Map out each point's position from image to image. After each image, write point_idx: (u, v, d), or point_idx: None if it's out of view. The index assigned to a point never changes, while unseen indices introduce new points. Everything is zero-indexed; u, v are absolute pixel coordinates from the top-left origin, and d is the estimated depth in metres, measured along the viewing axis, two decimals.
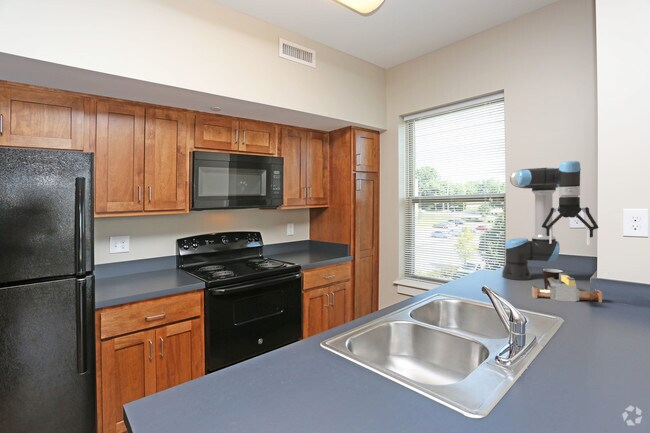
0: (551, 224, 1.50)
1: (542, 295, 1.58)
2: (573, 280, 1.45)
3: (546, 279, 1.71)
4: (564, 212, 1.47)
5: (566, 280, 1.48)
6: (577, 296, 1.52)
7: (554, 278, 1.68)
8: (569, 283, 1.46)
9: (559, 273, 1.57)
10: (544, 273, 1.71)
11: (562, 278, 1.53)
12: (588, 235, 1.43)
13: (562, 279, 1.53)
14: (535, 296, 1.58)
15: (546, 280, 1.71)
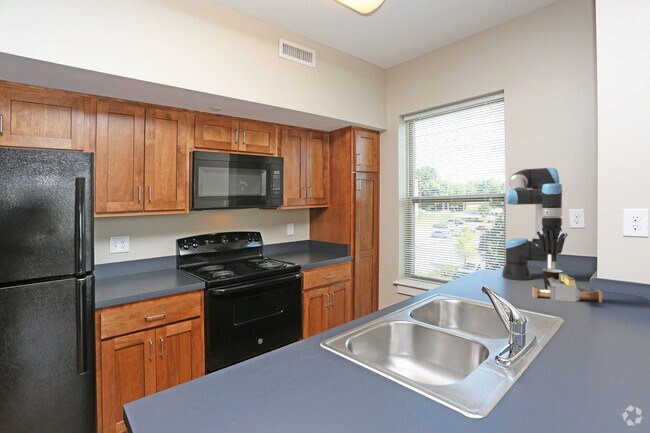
0: (546, 248, 1.53)
1: (542, 295, 1.58)
2: (573, 280, 1.45)
3: (546, 279, 1.71)
4: (546, 232, 1.53)
5: (566, 280, 1.48)
6: (577, 296, 1.52)
7: (554, 278, 1.68)
8: (569, 283, 1.46)
9: (559, 273, 1.57)
10: (544, 273, 1.71)
11: (562, 278, 1.53)
12: (550, 259, 1.52)
13: (562, 279, 1.53)
14: (535, 296, 1.58)
15: (546, 280, 1.71)
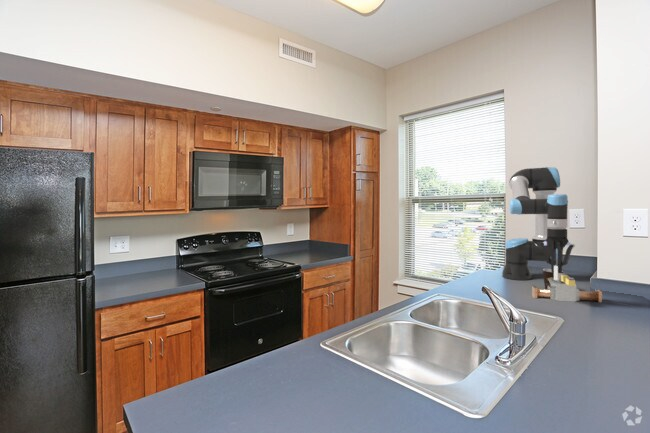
0: (552, 259, 1.51)
1: (542, 295, 1.58)
2: (573, 280, 1.45)
3: (546, 279, 1.71)
4: (552, 244, 1.50)
5: (566, 280, 1.48)
6: (577, 296, 1.52)
7: None
8: (569, 283, 1.46)
9: None
10: (544, 273, 1.71)
11: (562, 278, 1.53)
12: (556, 271, 1.50)
13: (562, 279, 1.53)
14: (535, 296, 1.58)
15: (546, 280, 1.71)
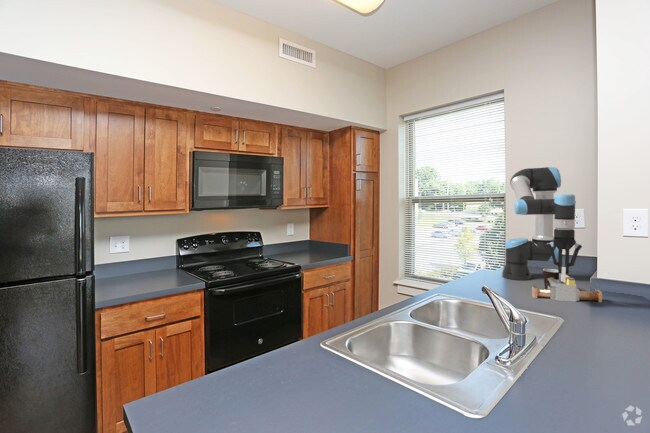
0: (560, 260, 1.49)
1: (542, 295, 1.58)
2: (573, 280, 1.45)
3: (546, 279, 1.71)
4: (560, 245, 1.48)
5: (566, 280, 1.48)
6: (577, 296, 1.52)
7: (554, 278, 1.68)
8: (569, 283, 1.46)
9: (559, 273, 1.57)
10: (544, 273, 1.71)
11: None
12: (564, 272, 1.48)
13: None
14: (535, 296, 1.58)
15: (546, 280, 1.71)
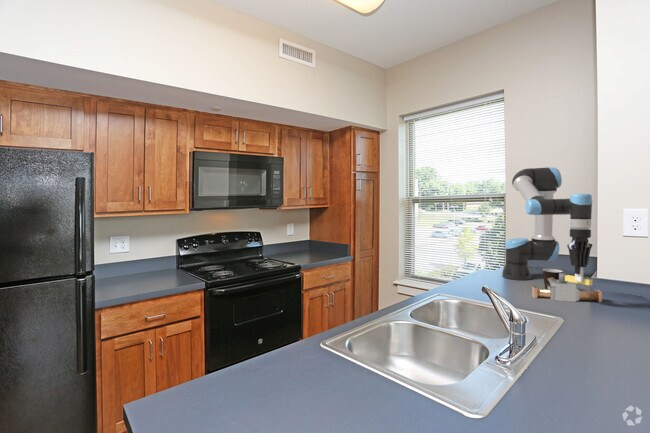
0: (580, 261, 1.46)
1: (542, 295, 1.58)
2: (591, 279, 1.46)
3: (546, 279, 1.71)
4: (582, 245, 1.45)
5: None
6: (577, 296, 1.52)
7: (554, 278, 1.68)
8: (589, 283, 1.45)
9: (560, 273, 1.56)
10: (544, 273, 1.71)
11: (569, 278, 1.52)
12: (582, 272, 1.47)
13: (570, 279, 1.52)
14: (535, 296, 1.58)
15: (546, 280, 1.71)
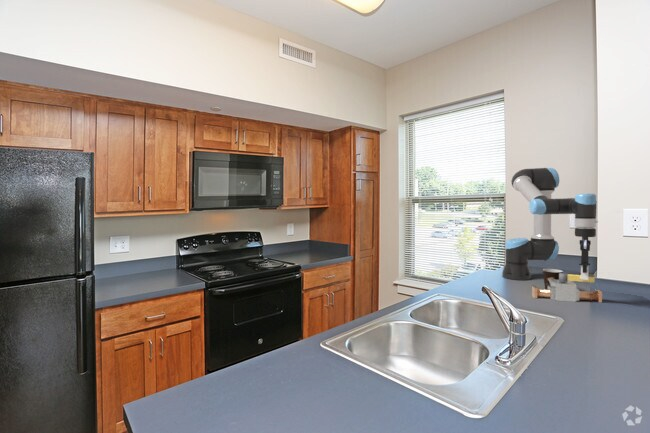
0: None
1: (542, 295, 1.58)
2: None
3: (546, 279, 1.71)
4: None
5: None
6: (577, 296, 1.52)
7: (554, 278, 1.68)
8: None
9: (562, 274, 1.55)
10: (544, 273, 1.71)
11: (572, 278, 1.53)
12: None
13: (573, 278, 1.53)
14: (535, 296, 1.58)
15: (546, 280, 1.71)
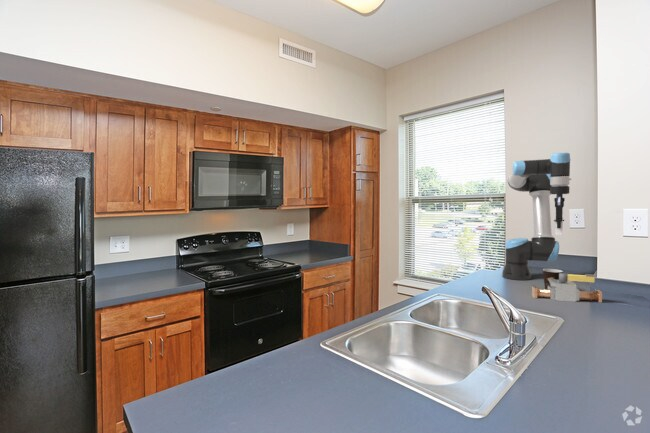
0: None
1: (542, 295, 1.58)
2: None
3: (546, 279, 1.71)
4: (564, 200, 1.56)
5: (586, 278, 1.51)
6: (577, 296, 1.52)
7: (554, 278, 1.68)
8: None
9: (562, 274, 1.55)
10: (544, 273, 1.71)
11: (572, 278, 1.53)
12: None
13: (573, 278, 1.53)
14: (535, 296, 1.58)
15: (546, 280, 1.71)
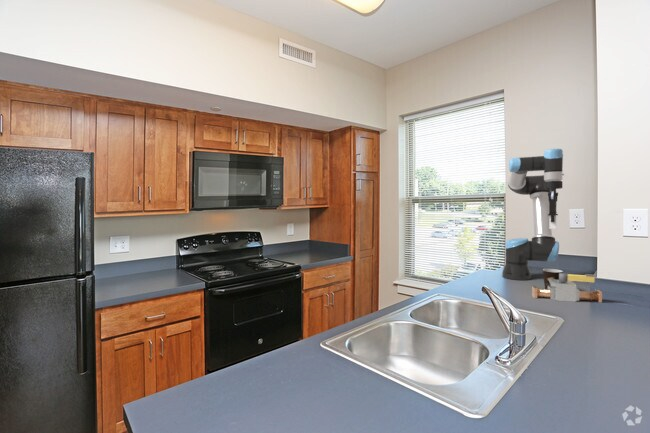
0: (555, 210, 1.62)
1: (542, 295, 1.58)
2: None
3: (546, 279, 1.71)
4: (557, 195, 1.61)
5: (586, 278, 1.51)
6: (577, 296, 1.52)
7: (554, 278, 1.68)
8: None
9: (562, 274, 1.55)
10: (544, 273, 1.71)
11: (572, 278, 1.53)
12: None
13: (573, 278, 1.53)
14: (535, 296, 1.58)
15: (546, 280, 1.71)
